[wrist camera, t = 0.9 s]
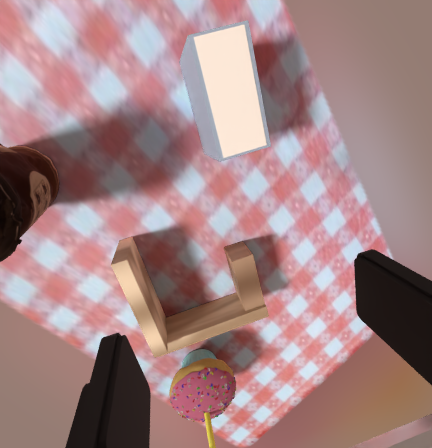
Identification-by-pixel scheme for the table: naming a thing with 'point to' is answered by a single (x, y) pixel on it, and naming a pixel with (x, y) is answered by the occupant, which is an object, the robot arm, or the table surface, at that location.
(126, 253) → the rack
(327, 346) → the table surface
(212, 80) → the grey rectangular block
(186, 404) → the cupcake
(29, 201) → the coffee cup
